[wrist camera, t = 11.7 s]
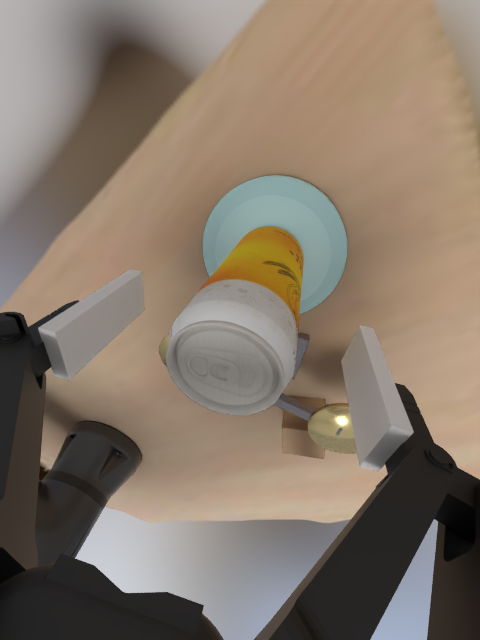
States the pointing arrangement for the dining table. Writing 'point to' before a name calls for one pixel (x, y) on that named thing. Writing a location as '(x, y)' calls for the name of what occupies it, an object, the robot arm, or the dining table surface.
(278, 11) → the dining table surface
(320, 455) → the walnut block
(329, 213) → the dish
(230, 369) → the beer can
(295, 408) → the balance
